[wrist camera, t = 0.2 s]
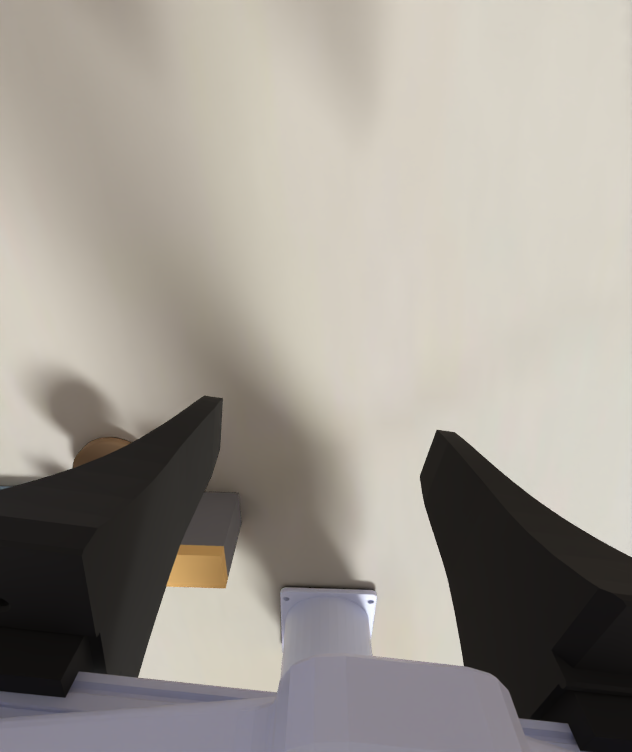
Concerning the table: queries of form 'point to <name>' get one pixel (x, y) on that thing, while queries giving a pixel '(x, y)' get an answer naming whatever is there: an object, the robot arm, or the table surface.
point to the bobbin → (98, 449)
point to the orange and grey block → (208, 543)
